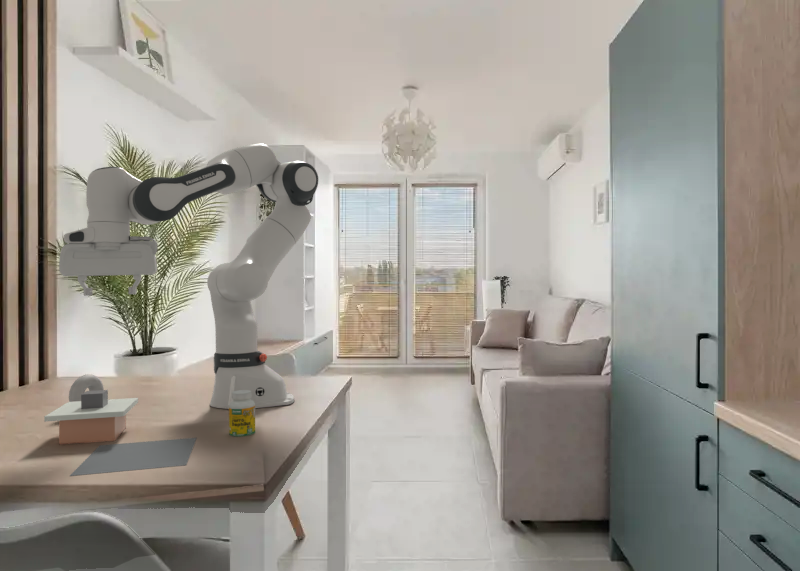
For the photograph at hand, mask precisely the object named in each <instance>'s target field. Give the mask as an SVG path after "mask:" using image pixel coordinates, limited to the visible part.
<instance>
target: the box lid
mask: <svg viewBox="0 0 800 571" xmlns="http://www.w3.org/2000/svg"><path fill="white" fill-rule="evenodd" d="M108 392H109V390H108V389H104V390H97V391H89V390H85V393H83V394H81V401H76V402H69V401H68V402H66V403H64V404H62V405H61V406H59V407H58V408H56V409H55V410H52V411H51V412H49V413H48V414H46V415H45V416H43V417H44V423H45V422H57V421H58V422H59V421H61V420H76V419H91V418H106V417H120V416H124V415H126V416H127V414H128V413H129V412H130V411H131V410H132V409H133V408H134V407H135V406H136V405H137V404H138V403H139V397H130V398H129V397H127V398H113V399H109V393H108Z"/></svg>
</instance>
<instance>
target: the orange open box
mask: <svg viewBox="0 0 800 571" xmlns="http://www.w3.org/2000/svg"><path fill="white" fill-rule="evenodd" d="M58 424H59V425H58V432H59V433H58V434H59V435H58V437H59V438H58V441H59V442H58V445H59V446H60V445H64V446H65V445H75V444H76V445H77V444H87V443H90V444H91V443H101V442H115V441H116V440H118V438H119V437H120V435H121V434H122V433H124V431H125V430H126V429H127V414H126V415H124V416H120V417H106V418H91V419H76V420H61V421H58Z"/></svg>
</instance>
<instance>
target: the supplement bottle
mask: <svg viewBox="0 0 800 571" xmlns="http://www.w3.org/2000/svg"><path fill="white" fill-rule="evenodd" d="M250 398H251V391H250V390H238V391H234V392H232V399H233V401H232V402H231V403H230V404H229V409H228V433H229V436H232V437H247V436H251V435H254V434H256V408H255V403H254V401H253V400H250Z"/></svg>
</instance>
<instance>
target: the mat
mask: <svg viewBox="0 0 800 571" xmlns="http://www.w3.org/2000/svg"><path fill="white" fill-rule="evenodd" d="M197 439H198V438H197V437H188V438H176V439H175V438H174V439H163V440H153V441H152V440H149V441H138V442H135V441H134V442H124V443H113V444H101V445H98V447H96V448H95V450H93V451H92V453H90V454H89V456H87V457H86V459H84V460H83V462H82V463H81V464H80V465H78V467H76V469H74V471H73V472H72V473H71V474H70V475H69V477H76V476H86V475H96V474H98V475H99V474H108V473H117V472H118V473H120V472H128V471H138V470H139V471H141V470H151V469H153V470H154V469H162V468H173V467H184V466H187V465H188V462H189V459H190V457H191V454H192V451H193V449H194V446H195V444H196V441H197Z"/></svg>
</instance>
